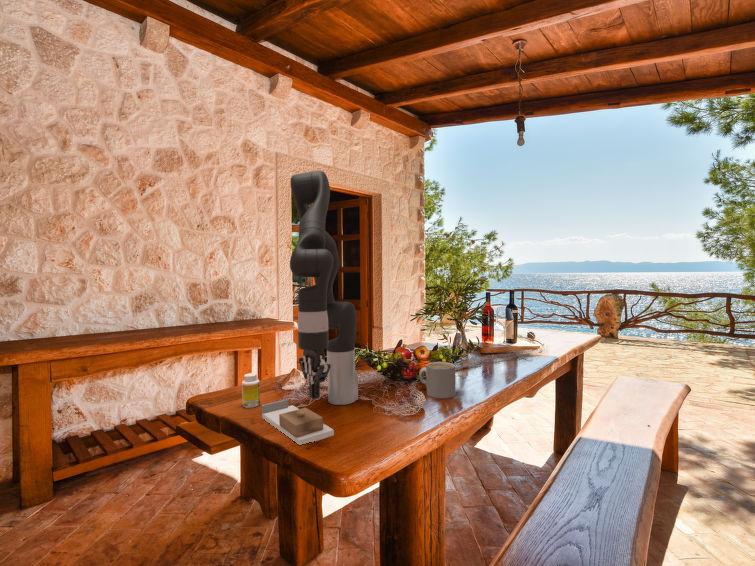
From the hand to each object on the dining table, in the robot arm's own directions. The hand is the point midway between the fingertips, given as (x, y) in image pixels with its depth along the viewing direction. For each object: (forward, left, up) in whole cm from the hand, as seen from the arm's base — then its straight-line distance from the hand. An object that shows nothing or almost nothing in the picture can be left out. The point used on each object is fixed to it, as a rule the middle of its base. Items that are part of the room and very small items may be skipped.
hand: (314, 397), depth 99 cm
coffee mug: (-53, -9, -12) cm, 55 cm away
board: (-1, -14, -12) cm, 19 cm away
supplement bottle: (+2, -40, -12) cm, 42 cm away
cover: (0, -9, -10) cm, 14 cm away
